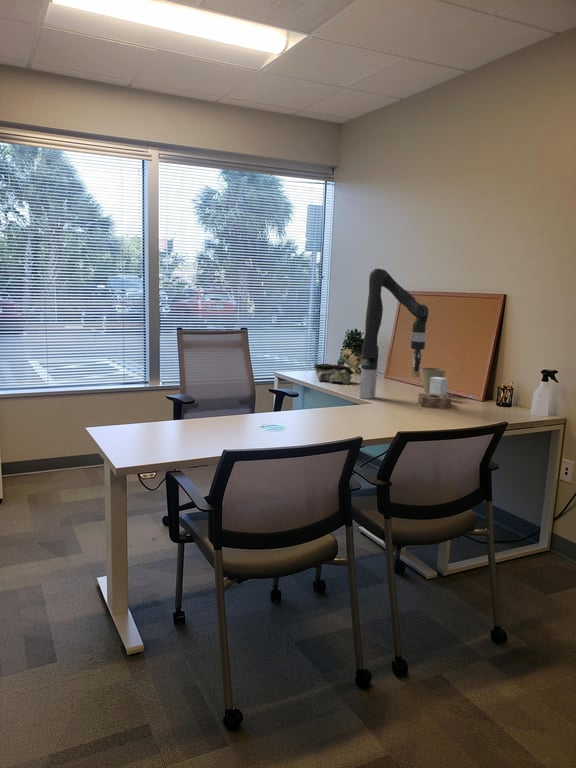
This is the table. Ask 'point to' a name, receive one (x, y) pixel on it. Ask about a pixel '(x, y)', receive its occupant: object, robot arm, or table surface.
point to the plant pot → (429, 373)
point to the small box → (438, 385)
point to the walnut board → (434, 400)
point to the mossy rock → (333, 373)
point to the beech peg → (414, 373)
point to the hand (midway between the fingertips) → (416, 370)
